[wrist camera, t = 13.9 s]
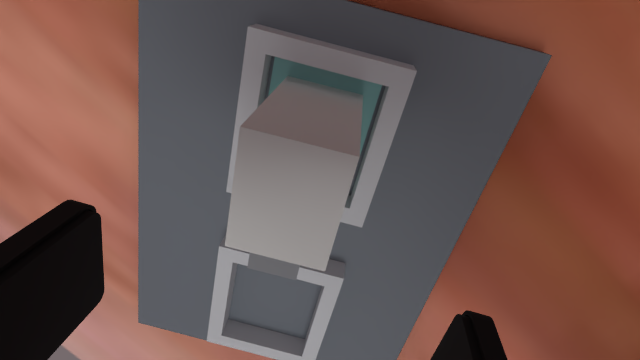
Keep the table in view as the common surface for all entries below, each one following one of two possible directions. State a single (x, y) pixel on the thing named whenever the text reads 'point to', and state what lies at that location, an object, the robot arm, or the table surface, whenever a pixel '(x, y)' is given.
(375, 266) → the dock board
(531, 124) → the table surface
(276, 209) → the plug
